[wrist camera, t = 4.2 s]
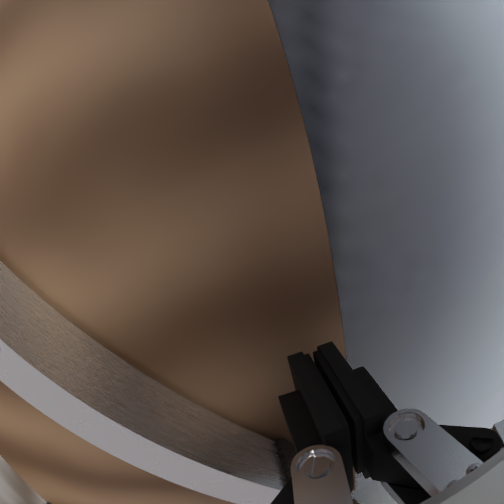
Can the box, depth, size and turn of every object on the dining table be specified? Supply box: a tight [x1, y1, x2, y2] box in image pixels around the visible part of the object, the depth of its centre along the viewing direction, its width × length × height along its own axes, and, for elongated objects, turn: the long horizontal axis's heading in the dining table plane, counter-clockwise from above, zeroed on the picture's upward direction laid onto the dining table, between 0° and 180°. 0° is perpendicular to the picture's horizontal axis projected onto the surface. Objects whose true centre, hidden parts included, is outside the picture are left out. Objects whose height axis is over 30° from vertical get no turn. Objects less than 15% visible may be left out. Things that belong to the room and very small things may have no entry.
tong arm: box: [0, 261, 297, 504], centre depth 9 cm, size 22×2×3 cm, turn 49°
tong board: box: [0, 0, 355, 504], centre depth 9 cm, size 30×26×5 cm
